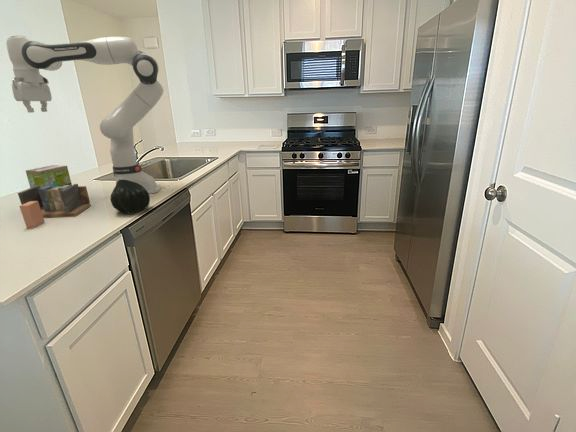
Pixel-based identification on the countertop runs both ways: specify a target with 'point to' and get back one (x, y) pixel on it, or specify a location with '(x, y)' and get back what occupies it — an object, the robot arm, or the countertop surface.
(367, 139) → the countertop surface
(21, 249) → the countertop surface
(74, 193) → the rack
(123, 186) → the squash
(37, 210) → the terracotta rectangular block
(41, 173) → the tea box
